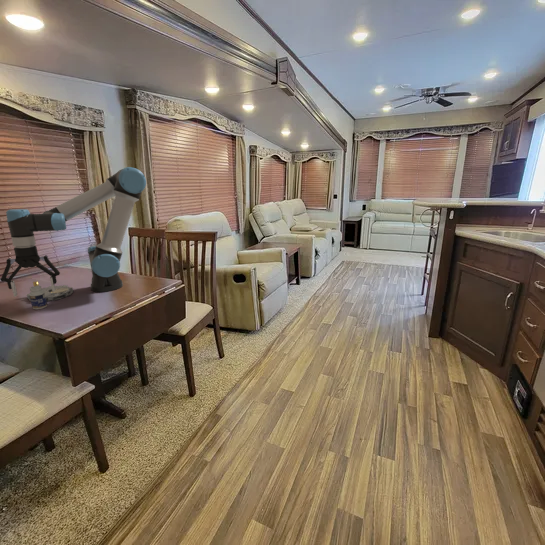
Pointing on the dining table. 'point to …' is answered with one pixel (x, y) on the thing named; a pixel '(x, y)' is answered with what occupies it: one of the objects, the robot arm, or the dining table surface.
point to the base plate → (59, 297)
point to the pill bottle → (37, 297)
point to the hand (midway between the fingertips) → (35, 293)
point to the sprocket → (57, 293)
